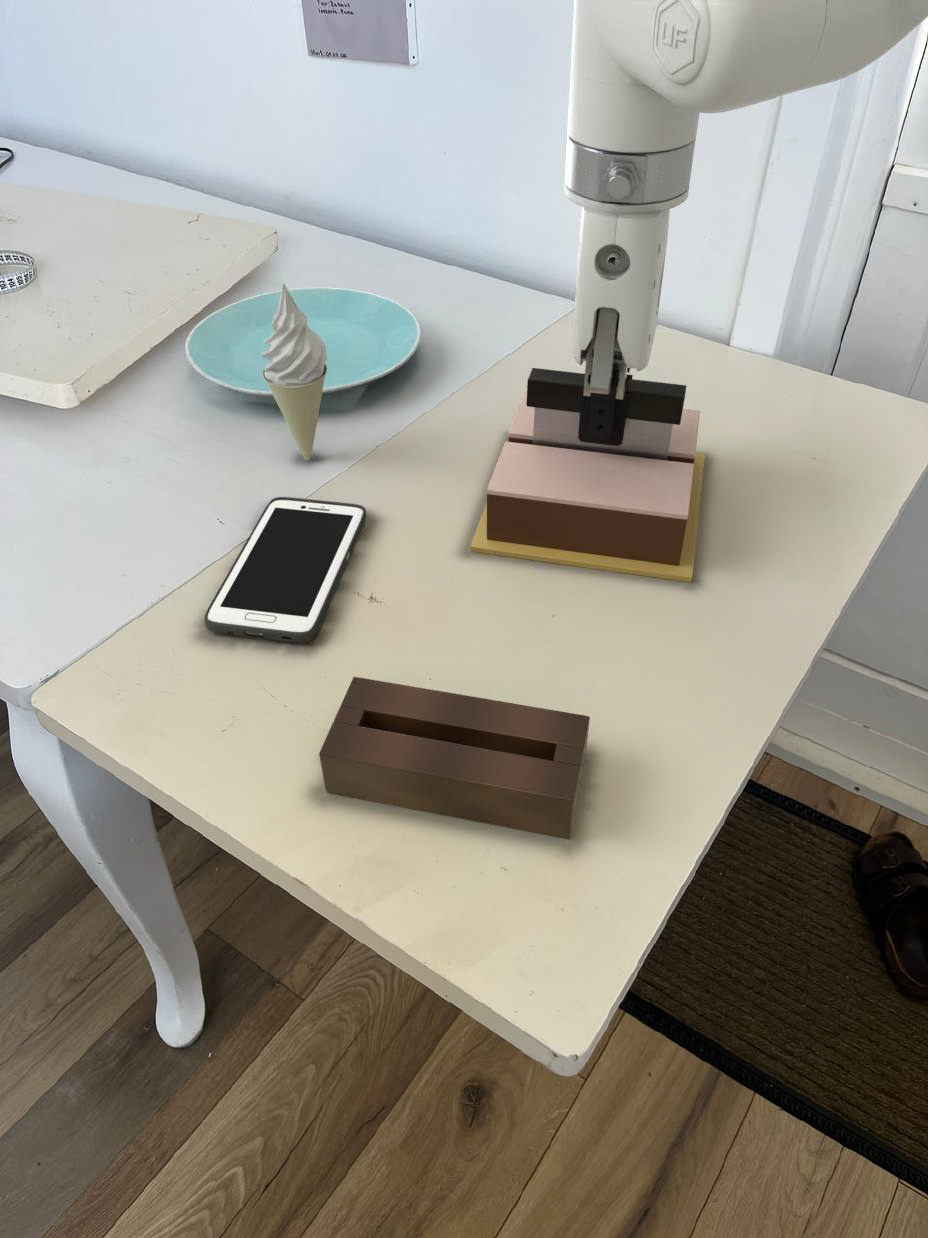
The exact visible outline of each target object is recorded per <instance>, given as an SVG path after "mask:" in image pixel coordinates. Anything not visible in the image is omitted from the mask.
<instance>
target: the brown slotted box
mask: <svg viewBox="0 0 928 1238" xmlns="http://www.w3.org/2000/svg"><path fill="white" fill-rule="evenodd" d="M590 721H591V717H590V716H589V715H586V714H585V715H584V714H580V713H579V714H578V713H572V712H566V711H561V710H555V709H549V708H543V707H537V706H531V705H525V704H519V703H514V702H509V701H508V702H507V701H502V700H495V699H490V698H485V697H479V696H472V695H465V694H462V693H461V694H460V693H454V692H448V691H443V690H436V689H430V688H425V687H420V686H419V687H418V686H413V685H407V684H400V683H395V682H389V681H383V680H377V679H371V678H365V677H359V676H353V677H352V679H351V682H350V684H349V686H348V687H347V690H346V693H345V695H344V697H343V699H342V702H341V704H340V706H339V708H338V710H337V712H336V714H335V717H334V719H333V722H332V723H331V726H330V728H329V730H328V732H327V734H326V737H325V739H324V742H323V744H322V746H321V748H320V750H319V752H318V756H319V761H320V768H321V773H322V777H323V783H324V788H325V792H326V794H327V793H328V794H333V795H337V796H343V797H348V798H353V799H359V800H363V801H364V800H365V801H369V802H375V803H380V804H384V805H385V804H386V805H390V806H395V807H399V808H405V809H411V810H416V811H421V812H426V813H432V814H437V815H441V816H447V817H452V818H457V819H462V820H467V821H473V822H477V823H483V824H487V825H488V824H489V825H494V826H497V827H498V826H499V827H503V828H504V827H505V828H510V829H514V830H518V831H519V830H520V831H524V832H529V833H535V834H540V835H545V836H551V837H556V838H559V839H560V838H561V839H566V840H570V839H571V836H572V830H573V825H574V820H575V814H576V810H577V804H578V800H579V799H578V798H579V793H580V788H581V782H582V776H583V772H584V766H585V761H586V757H587V747H588V739H589V730H590V723H591V722H590Z"/></svg>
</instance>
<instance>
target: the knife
mask: <svg viewBox="0 0 928 1238" xmlns="http://www.w3.org/2000/svg"><path fill="white" fill-rule="evenodd" d="M584 380H585V373H581V372H572V371H563V370H555V369H549V368H548V369H546V368H538V367H532V368H531V370H530V373H529V374H528V378H527V385H526V392H527V403H526V406H527V407H535V409H534V428H533V445H539V446H547V447H556V448H564V449H573V450H581V451H590V452H598V453H607V454H615V455H624V456H632V457H641V458H649V459H658V460H666V461H667V456H668V450H669V444H670V438H671V432H672V426H673V424H675V425H680V423H681V417H682V411H683V409H684V405H685V401H686V400H685V399H686V393H687V384H679V383H669V382H661V381H660V382H659V381H652V380H642V379H633V378H632V379H626V385H625V393H628V402H627V411H626V420H625V429H624V437H623V442H622V444H621V445H620V446H612V445H604V444H595V443H586V442H581V441H580V440H579V439H578V432H579V419H580V406H581V392H582V389H584Z"/></svg>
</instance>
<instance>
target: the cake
mask: <svg viewBox="0 0 928 1238" xmlns="http://www.w3.org/2000/svg"><path fill="white" fill-rule="evenodd" d="M526 403H527V391H524V392H523V393H522V397H521V399H520V402H519V405H518V407H517V410H516V413H515V415H514V418H513V420H512V423H511V425H510V427H509V431H508V433H507V434H508V439H507V440H508V441H504V444H503V446H502V449H501V451H500V454H499V456H498V459H497V461H496V464H495V467H494V469H493V472H492V474H491V477H490V480H489V483H488V485H487V488H486V504H485V506H484V510H483V512H482V515H481V518H480V520H479V522H478V525H477V528H476V530H475V533H474V535H473V538H472V541H471V543H470V549H469V551H470V552H471V553H478V554H479V553H480V554H486V555H493V556H501V557H507V558H515V559H521V560H527V561H528V560H529V561H534V562H535V561H536V562H543V563H549V564H556V565H557V564H558V565H564V566H571V567H572V566H573V567H579V568H586V569H593V570H600V571H608V572H613V573H622V574H628V575H635V576H643V577H651V578H657V579H664V580H670V581H671V580H672V581H678V582H685V583H692V581H693V577H694V576H693V574H694V564H695V556H696V546H697V537H698V526H699V517H700V507H701V496H702V486H703V478H704V467H705V459H706V454H705V453H699V452H696V451H697V443H698V435H699V426H700V417H701V410H699V409H691V408H690V409H689V408H683V411H682V417H681V423H680V425H675V424H673V426H672V432H671V438H670V444H669V450H668V456H667V461H666V460H658V459H649V458H641V457H632V456H624V455H615V454H607V453H598V452H590V451H581V450H573V449H564V448H556V447H547V446H539V445H533V428H534V409H535V407H527V406H526Z"/></svg>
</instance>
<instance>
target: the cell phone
mask: <svg viewBox="0 0 928 1238" xmlns="http://www.w3.org/2000/svg"><path fill="white" fill-rule="evenodd" d="M366 520H367V511H366V508H365V506H363V505H361V504H356V503H350V502H341V501H331V500H320V499H311V498H300V497H292V496H277V497H273V498H272V499H271V500H270V501H268V504H267V505H266V506H265V508H264V510H263V511H262V513H261V515H260V517H259V519H258V520H257V522H256V524H255V526H254V527H253V529H252V531H251V532H250V534H249V536H248V538H247V540H246V542H245V543H244V545H243V546H242V547H241V550H240V552H239V553H238V554H237V557H236V559H235V560H234V562H233V564H232V565H231V568H230V569H229V570H228V573H227V574H226V576H225V578H224V580H223V581H222V583H221V585H220V587H219V588H218V590H217V592H216V593H215V595H214V597H213V599H212V601H211V602H210V604H209V606H208V607H207V610H206V612H205V615H204V618H203V620H204V625H205V628H206V629H207V630H209V632H210V631H211V632H213V633H218V634H224V635H229V634H232V635H234V636H243V637H247V636H248V635H249V636H256V637H263V639H266V640H272V641H273V640H274V641H281V642H290V643H297V644H299V643H302V644H303V643H308V642H310V641H312V640H313V639H314V638H315V636H316V634H317V633H318V631H319V630H320V627H321V625H322V622H323V621H324V619H325V616H326V613H327V610H328V608H329V606H330V604H331V602H332V600H333V597H334V595H335V592H336V590H337V588H338V585H339V583H340V581H341V579H342V577H343V574H344V572H345V570H346V567H347V565H348V560H349V557H350V556H351V555H352V554H353V551H354V550H355V547H356V544H357V542H358V540H359V537H360V535H361V533H362V530H363V528H364V526H365V524H366Z"/></svg>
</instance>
